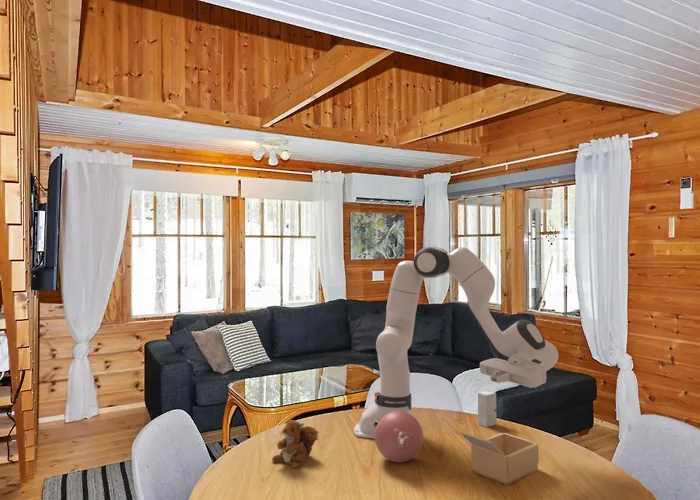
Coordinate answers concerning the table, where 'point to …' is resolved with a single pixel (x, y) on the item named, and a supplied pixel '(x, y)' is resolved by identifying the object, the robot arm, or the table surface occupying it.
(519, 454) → the carton
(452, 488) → the table surface
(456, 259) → the robot arm
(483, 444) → the front flap
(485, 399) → the skincare box
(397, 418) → the balloon
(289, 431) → the stuffed squirrel
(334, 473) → the table surface
